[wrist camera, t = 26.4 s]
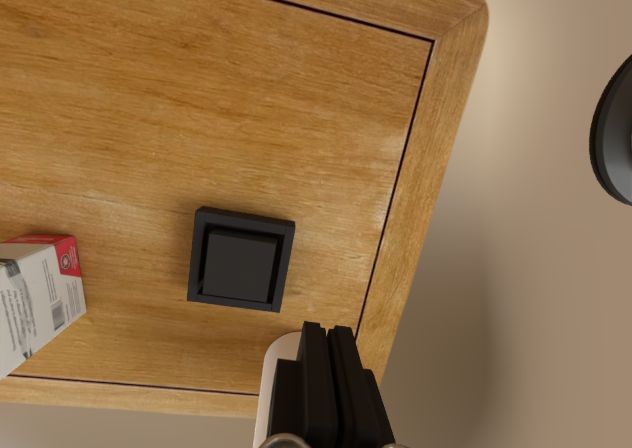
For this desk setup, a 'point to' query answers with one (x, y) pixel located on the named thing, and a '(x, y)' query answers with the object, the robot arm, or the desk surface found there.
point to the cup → (278, 349)
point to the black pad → (239, 264)
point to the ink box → (36, 294)
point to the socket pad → (248, 222)
